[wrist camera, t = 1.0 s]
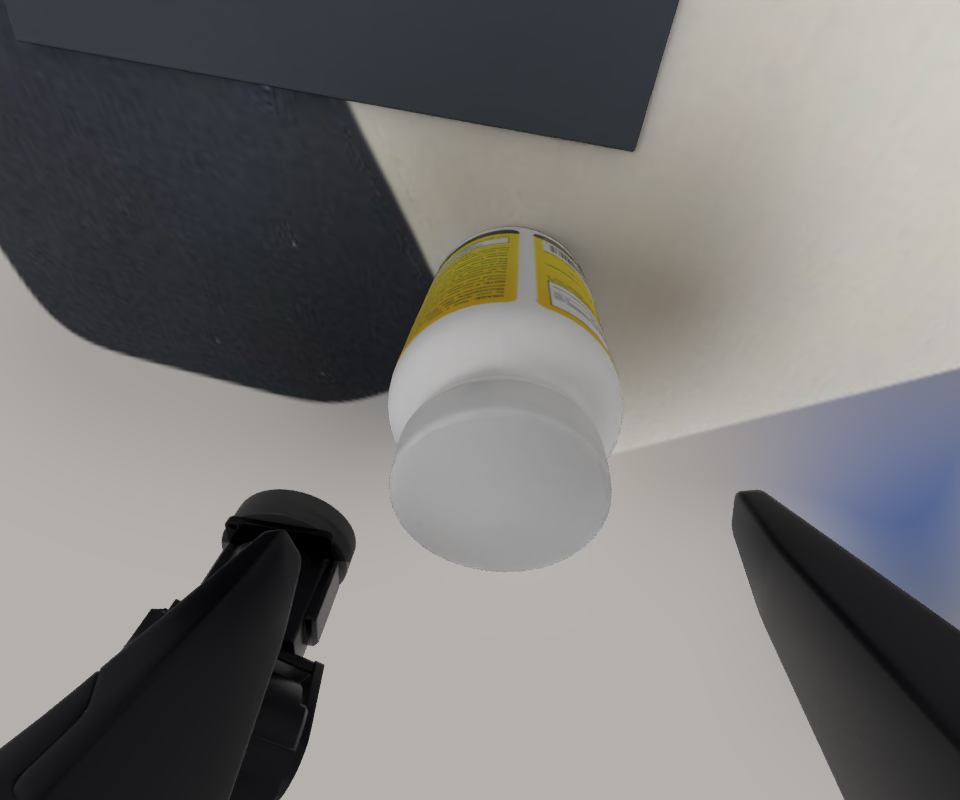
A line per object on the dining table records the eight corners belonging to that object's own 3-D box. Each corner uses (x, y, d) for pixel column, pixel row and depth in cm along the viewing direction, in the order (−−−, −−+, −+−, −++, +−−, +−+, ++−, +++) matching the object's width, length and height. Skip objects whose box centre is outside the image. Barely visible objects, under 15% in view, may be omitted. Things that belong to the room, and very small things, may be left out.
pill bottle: (425, 356, 21) (347, 571, 12) (441, 208, 17) (349, 346, 8) (565, 382, 21) (598, 613, 12) (609, 239, 18) (702, 409, 8)
